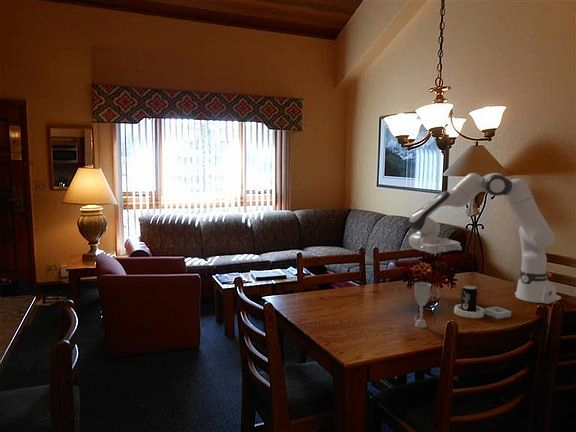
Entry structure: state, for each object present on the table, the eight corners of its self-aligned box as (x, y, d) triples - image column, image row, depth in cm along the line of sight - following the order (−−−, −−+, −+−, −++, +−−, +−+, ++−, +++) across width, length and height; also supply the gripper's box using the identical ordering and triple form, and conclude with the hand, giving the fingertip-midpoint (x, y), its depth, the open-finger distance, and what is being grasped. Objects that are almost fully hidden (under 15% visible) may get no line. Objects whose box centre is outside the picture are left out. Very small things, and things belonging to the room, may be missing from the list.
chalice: (408, 324, 189) (410, 283, 187) (418, 321, 194) (420, 281, 192) (423, 329, 184) (425, 287, 182) (433, 326, 188) (434, 284, 186)
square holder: (496, 311, 207) (496, 306, 207) (510, 316, 200) (511, 311, 200) (483, 313, 204) (483, 308, 204) (498, 319, 197) (498, 313, 197)
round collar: (468, 307, 212) (468, 302, 212) (489, 315, 201) (490, 310, 201) (448, 311, 207) (448, 306, 207) (469, 319, 196) (469, 314, 196)
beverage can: (477, 315, 200) (478, 289, 199) (462, 314, 202) (463, 288, 200) (474, 310, 207) (475, 285, 206) (459, 309, 208) (460, 284, 207)
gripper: (417, 240, 226) (437, 244, 214) (448, 237, 235) (468, 241, 222) (417, 252, 227) (437, 257, 214) (447, 249, 235) (468, 253, 223)
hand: (453, 249), depth 218 cm, fingers open, 8 cm apart
